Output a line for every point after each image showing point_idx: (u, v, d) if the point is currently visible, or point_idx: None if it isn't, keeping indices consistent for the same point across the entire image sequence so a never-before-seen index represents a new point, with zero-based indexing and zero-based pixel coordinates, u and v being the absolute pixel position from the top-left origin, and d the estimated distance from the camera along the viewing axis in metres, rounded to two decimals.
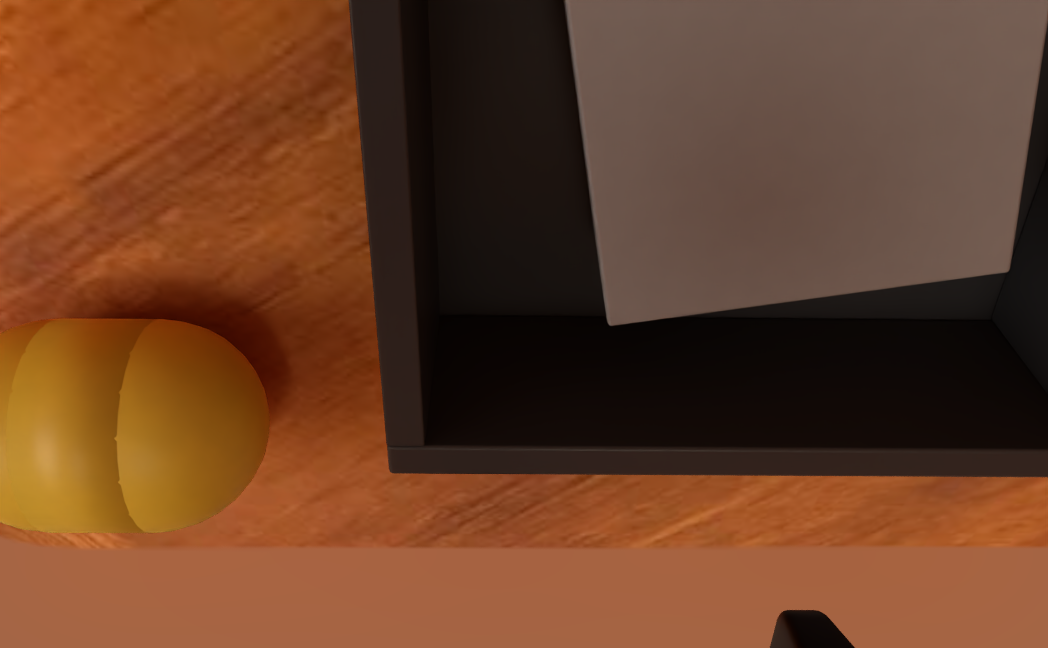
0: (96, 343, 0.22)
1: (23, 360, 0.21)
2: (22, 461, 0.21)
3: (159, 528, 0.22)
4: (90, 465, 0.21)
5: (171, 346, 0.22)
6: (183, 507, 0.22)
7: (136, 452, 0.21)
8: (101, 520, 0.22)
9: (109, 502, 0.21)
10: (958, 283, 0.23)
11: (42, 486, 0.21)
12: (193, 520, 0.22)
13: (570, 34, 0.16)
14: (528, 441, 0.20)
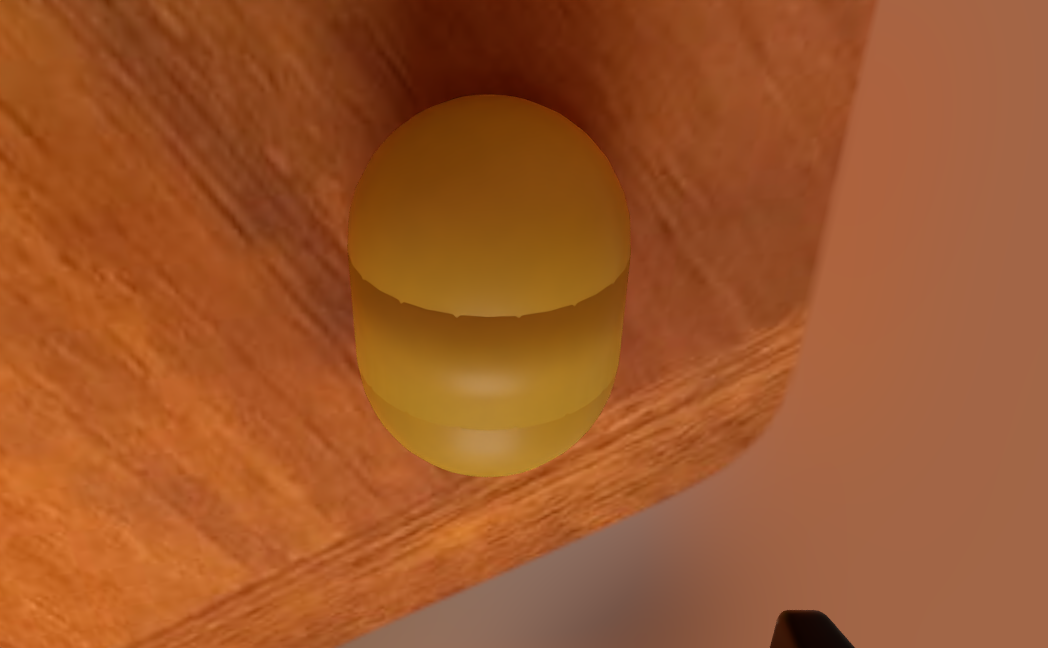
0: None
1: (358, 362, 0.18)
2: (431, 407, 0.17)
3: (568, 284, 0.15)
4: (434, 340, 0.16)
5: (352, 201, 0.17)
6: (522, 248, 0.15)
7: (418, 284, 0.15)
8: (533, 349, 0.16)
9: (491, 334, 0.15)
10: None
11: (468, 398, 0.16)
12: (569, 238, 0.15)
13: None
14: None
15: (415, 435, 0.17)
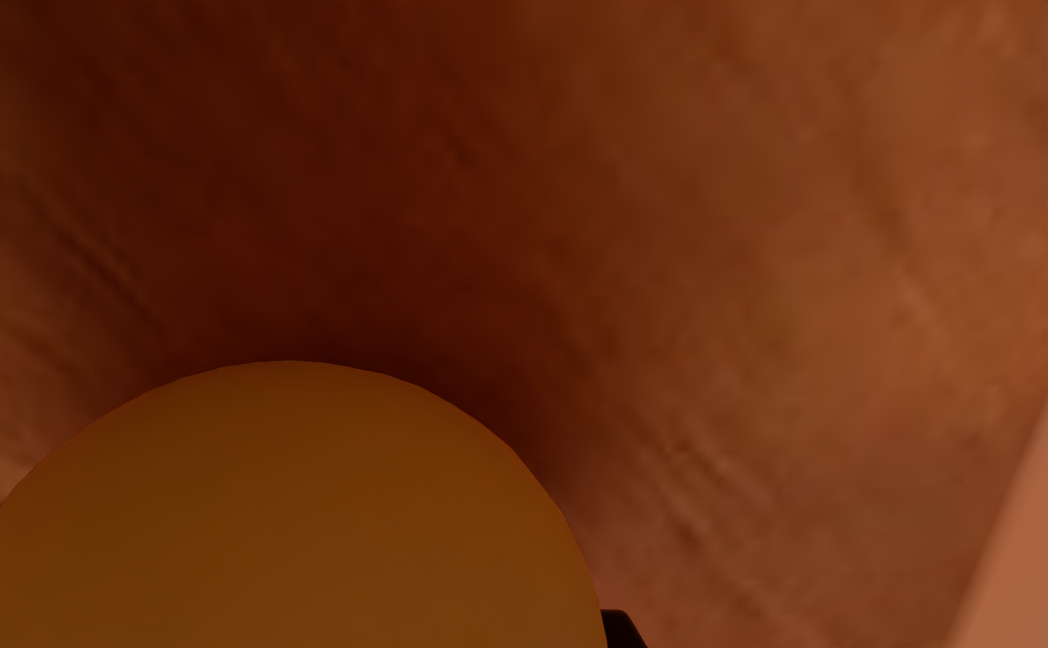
0: None
1: None
2: None
3: None
4: None
5: None
6: None
7: None
8: None
9: None
10: None
11: None
12: None
13: None
14: None
15: None
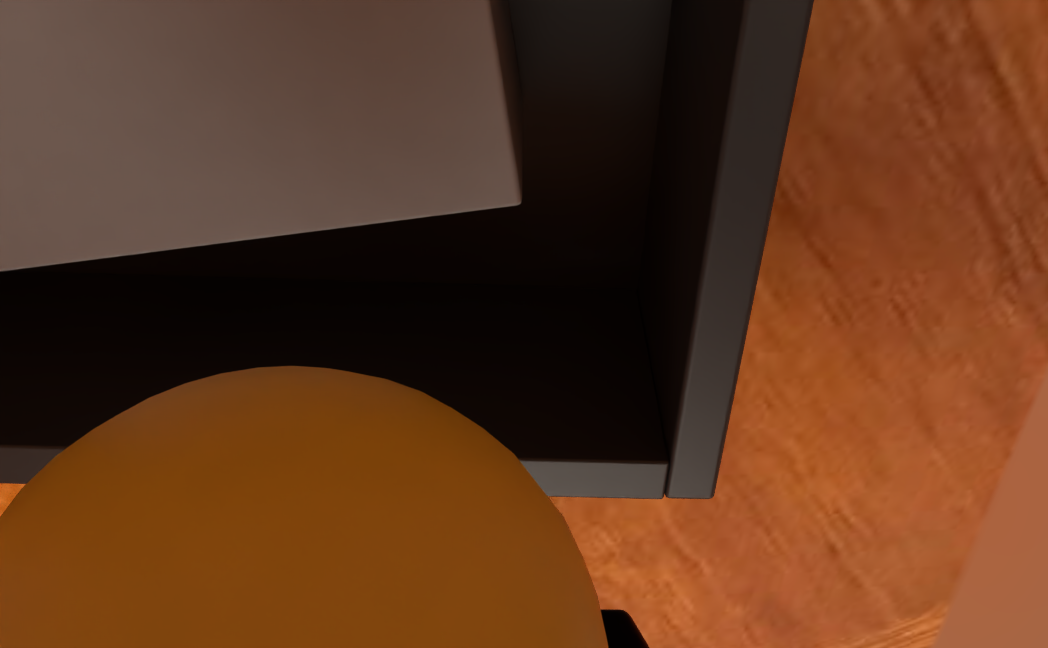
0: None
1: None
2: None
3: None
4: None
5: None
6: None
7: None
8: None
9: None
10: None
11: None
12: None
13: (105, 257, 0.14)
14: (687, 338, 0.13)
15: None
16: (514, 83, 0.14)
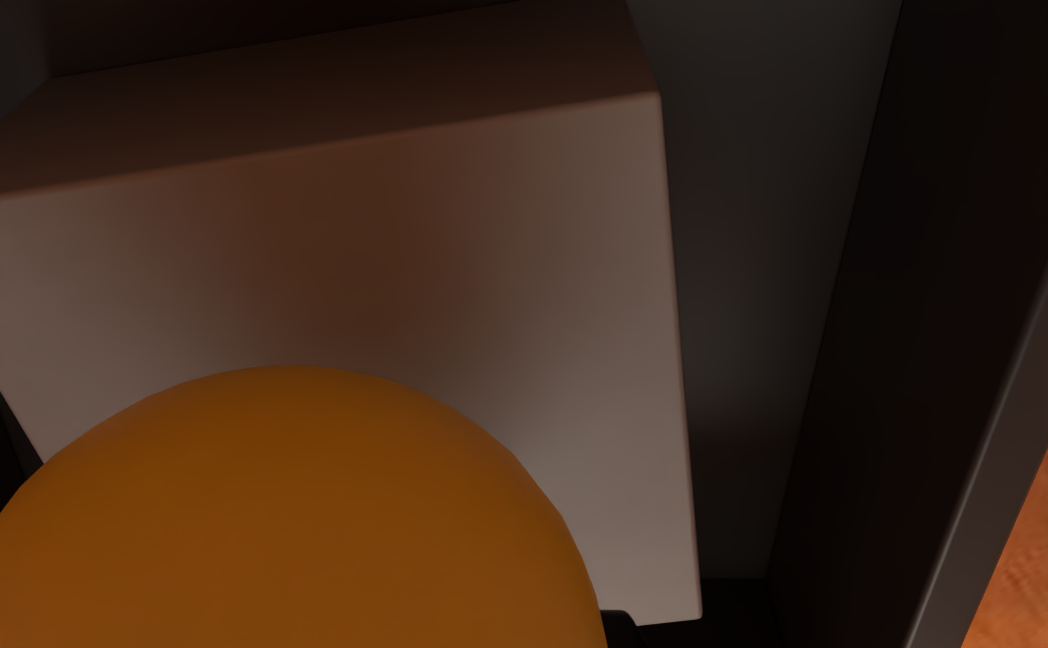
0: None
1: None
2: None
3: None
4: None
5: None
6: None
7: None
8: None
9: None
10: None
11: None
12: None
13: None
14: None
15: None
16: None
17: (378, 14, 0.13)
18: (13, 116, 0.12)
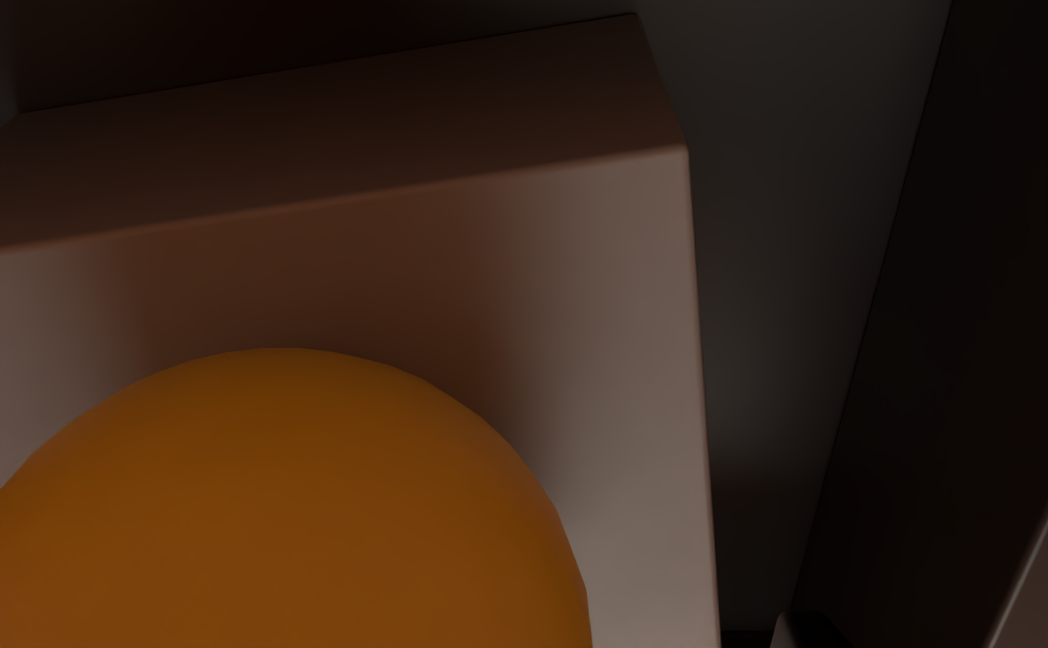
0: None
1: None
2: None
3: None
4: None
5: None
6: None
7: None
8: None
9: None
10: None
11: None
12: None
13: None
14: None
15: None
16: None
17: (375, 45, 0.12)
18: None
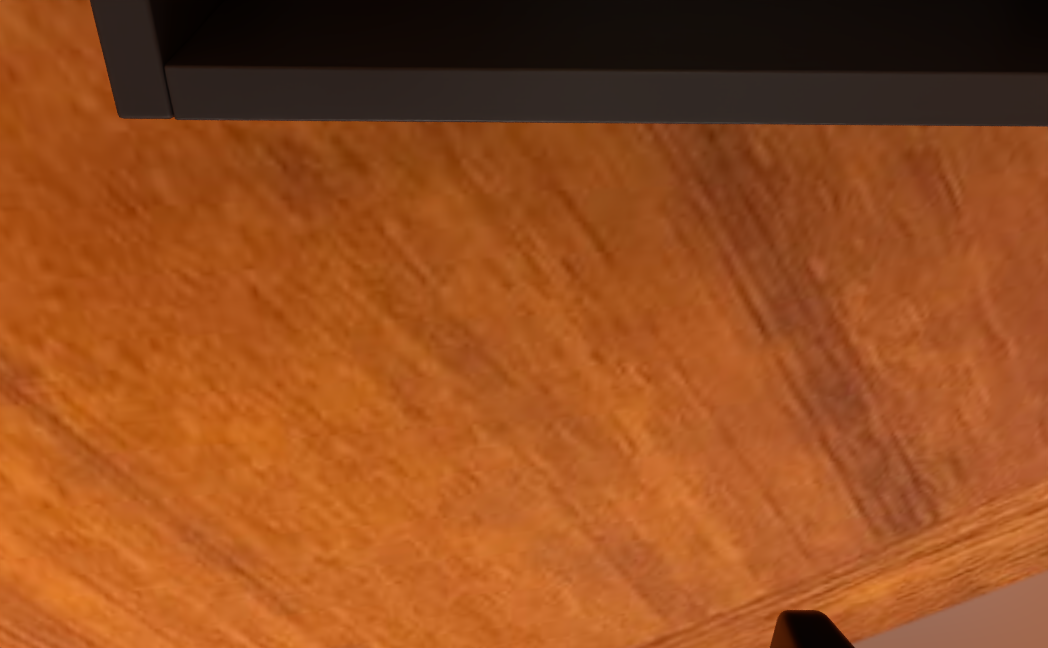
0: None
1: None
2: None
3: None
4: None
5: None
6: None
7: None
8: None
9: None
10: None
11: None
12: None
13: None
14: None
15: None
16: None
17: None
18: None
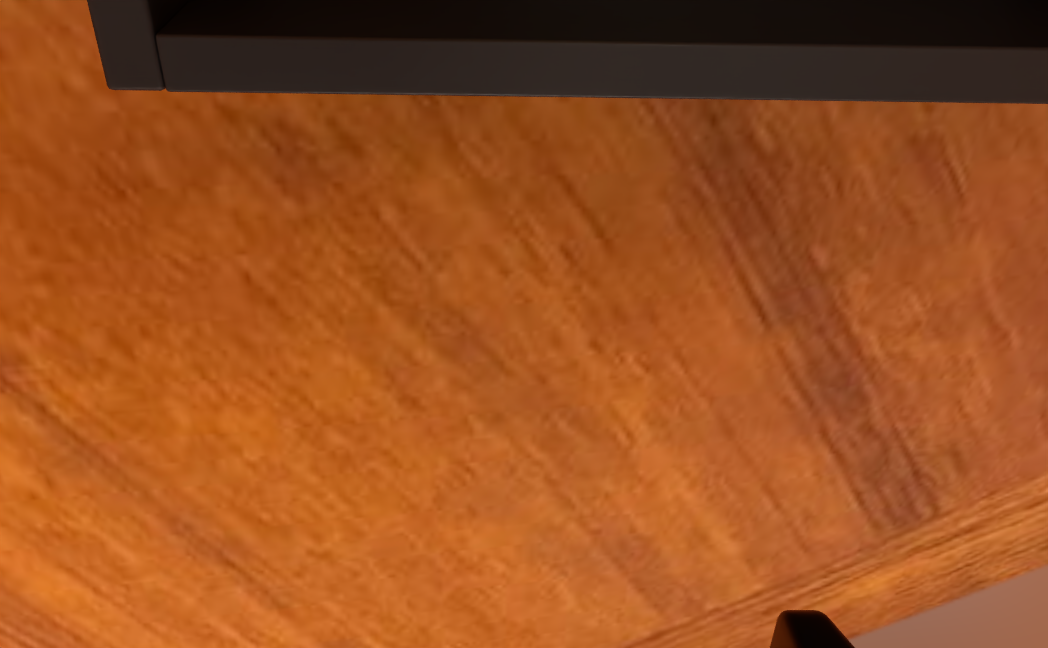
0: None
1: None
2: None
3: None
4: None
5: None
6: None
7: None
8: None
9: None
10: None
11: None
12: None
13: None
14: None
15: None
16: None
17: None
18: None
